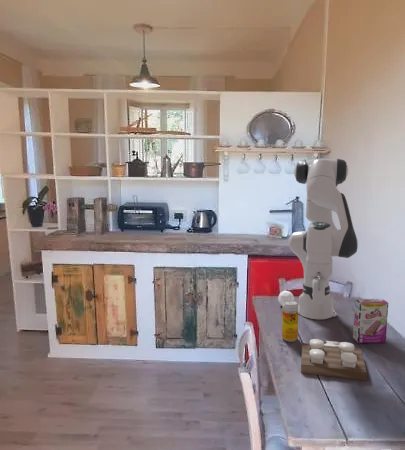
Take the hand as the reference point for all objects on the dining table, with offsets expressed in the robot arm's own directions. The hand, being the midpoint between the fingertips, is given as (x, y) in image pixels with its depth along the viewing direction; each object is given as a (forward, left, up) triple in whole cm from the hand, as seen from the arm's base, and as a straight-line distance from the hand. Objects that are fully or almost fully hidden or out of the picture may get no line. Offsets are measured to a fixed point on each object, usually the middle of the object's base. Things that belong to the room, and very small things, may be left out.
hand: (317, 308), depth 130 cm
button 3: (+8, 0, -17) cm, 18 cm away
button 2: (0, +10, -17) cm, 19 cm away
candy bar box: (-19, +20, -19) cm, 33 cm away
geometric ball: (-51, -14, -19) cm, 56 cm away
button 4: (+8, +10, -17) cm, 21 cm away
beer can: (-13, -10, -19) cm, 25 cm away
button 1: (0, 0, -17) cm, 17 cm away
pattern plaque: (-10, +5, -18) cm, 22 cm away
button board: (+4, +5, -18) cm, 19 cm away
